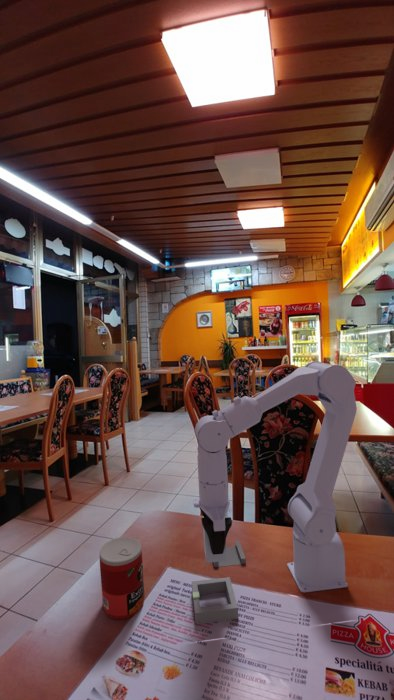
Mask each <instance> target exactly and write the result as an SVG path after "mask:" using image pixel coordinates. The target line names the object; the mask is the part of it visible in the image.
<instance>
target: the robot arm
mask: <svg viewBox="0 0 394 700" xmlns="http://www.w3.org/2000/svg"><path fill="white" fill-rule="evenodd" d="M356 384H357V381H356V379H355V378H354V377H353V375H352V374H351V372H350V371H349V370H348V368H346V367H345V366H343V365H341V364H331V363H325V362H322V361H318V360H317V361H316V360H313V361H309V362H307V364H305V365H304V366H300V367H298V368H296V369H295V370H294V371H292V372H291V373H290V374H288V375H287V376H285V377H284V378H282V379H280V380H279V381H277V382H276V383H274V384H273V385H271V386H270V387H268V388H266V389H265V390H264V391H262V392H261V393H259V394H257V395H256V396H255V397H251V396H247V395H244V396H242V397H240V396H239V395H237V396H236V397H234V398H233V399H232V401H233V402H231V403H230V404H228V405H226V406H224V407H223V408H221V409H220V410H219V409H218V410H217V409H215V410H213V411H212V412H211V413H212V415H205V416H202V417H200V418H199V419H198V421H197V422H196V423H195V428H194V429H193V431H194V436H195V437H196V440H197V441H198V442H197V456H196V457H197V458H196V459H197V476H198V477H197V478H198V495H199V497H198V498H197V499H193V507H194V508H198V509H199V510H200V512H201V513H202V516H203V517H201V524H202V528H203V527H204V529H205V531H206V533H207V535H208V538H209V542H210V547H211V551H212V554H213V555H215V554H223V552H224V548H225V542H226V543H227V537H228V533H229V531H230V529H231V528H232V524H233V520H232V518H231V516H230V517H229V516H228V517H227V513H228V511H229V507H230V504H231V503H230V497H229V479H228V478H229V477H228V460H227V459H228V458H227V454H226V453H227V450H226V447H227V446H228V444H229V441H230V439H232V438H235V437H236V436H237V435H239V434H242V433H244V432H245V431H246V430H248V429H250V428H251V427H253V426H255V425H257V424H258V423H260V422H261V419H262V417H263V413H264V412H266V411H268V410H270V409H273V408H274V407H277V406H278V405H280V404H282V403H284V402H286V401H288V400H291V398H294V397H296V396H298V395H305V396H315V397H317V399H318V400H319V401H320V403H321V405H322V407H323V408H324V410H325V413H324V417H323V420H322V424H321V426H320V431H319V433H318V437H317V441H316V444H315V447H314V450H313V454H312V457H311V461H310V463H309V464H310V465H309V468H308V470H307V475H306V478H305V481H304V482H303V483H302V484H299V485H298V486H297V488H296V491H295V493H294V495H293V496H292V497H291V498H290V499H289V501H288V504H287V512H288V515H289V516H290V518H291V519H292V520H293V528H292V546H293V547H292V548H293V550H292V551H293V561H291V562H288V563H286V566H287V568H288V570H289V572H290V574H291V576H292V577H293V580H294V582H295V583H296V585H297V587H298V589H299V590H300V592H301V593H311V592H317V591H318V592H320V591H328V590H334V589H342V588H344V589H345V588H347V587H348V583H347V581H346V555H345V548H344V544H343V541H342V538H341V537H340V535H339V534H338V533H337V525H336V515H337V513H338V512H337V507H336V503H335V500H334V497H333V493H334V490H335V486H336V483H337V480H338V476H339V473H340V469H341V465H342V462H343V459H344V456H345V453H346V448H347V446H348V443H349V442H348V441H349V439H350V435H351V432H352V428H353V424H354V421H355V418H356V415H357V401H356V394H355V387H356Z"/></svg>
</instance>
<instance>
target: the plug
mask: <svg viewBox="0 0 394 700" xmlns="http://www.w3.org/2000/svg"><path fill="white" fill-rule="evenodd" d="M202 532H203V533H202V534H203V550H204V556H205V563H206V564H208V563H209V564H211V563H213V562H220V561H227V552H226V547H227V541H226V542H225V548H224V552H223V554H215V555H213V554H212V551H211V547H210V542H209V538H208V535H207V533H206V531H205V529H204V527H203V526H202Z"/></svg>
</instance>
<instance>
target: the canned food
mask: <svg viewBox="0 0 394 700" xmlns="http://www.w3.org/2000/svg"><path fill="white" fill-rule="evenodd" d="M143 563H144V562H143V550H142V544H141V542H140V540H138V539H136V538H134V537H131V536H130V537H129V536H122V537H117V538H113V539H111V540H108V541H107V542H105V543H104V544H103V545H102V547H101V548H100V550H99V568H100V569H99V570H100V583H101V584H100V587H101V596H102V597H101V598H102V599H101V600H102V606H103V610H104V612H105V613H106V616H108V617H110V618H111V619H114V620H124V619H129V618H131V617H133V616H134V615H136V614H137V613H138V612H139V611H140V610H141V608H142V607H143V605H144V602H145V581H144V568H143V567H144V566H143V565H144V564H143Z"/></svg>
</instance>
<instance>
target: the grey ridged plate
mask: <svg viewBox="0 0 394 700" xmlns="http://www.w3.org/2000/svg"><path fill="white" fill-rule="evenodd" d="M234 542H235V543H234V545H232V546H231V545H230V546H226V552H227V561H220V562H212V563H213V567H214V568H222V567H230V566H231V567H232V566H238V565H246V564H247V560H246V559H247V558H246V556H245V552H244V550H243V546H242V545H241V541H240V540H235V541H234Z"/></svg>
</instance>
